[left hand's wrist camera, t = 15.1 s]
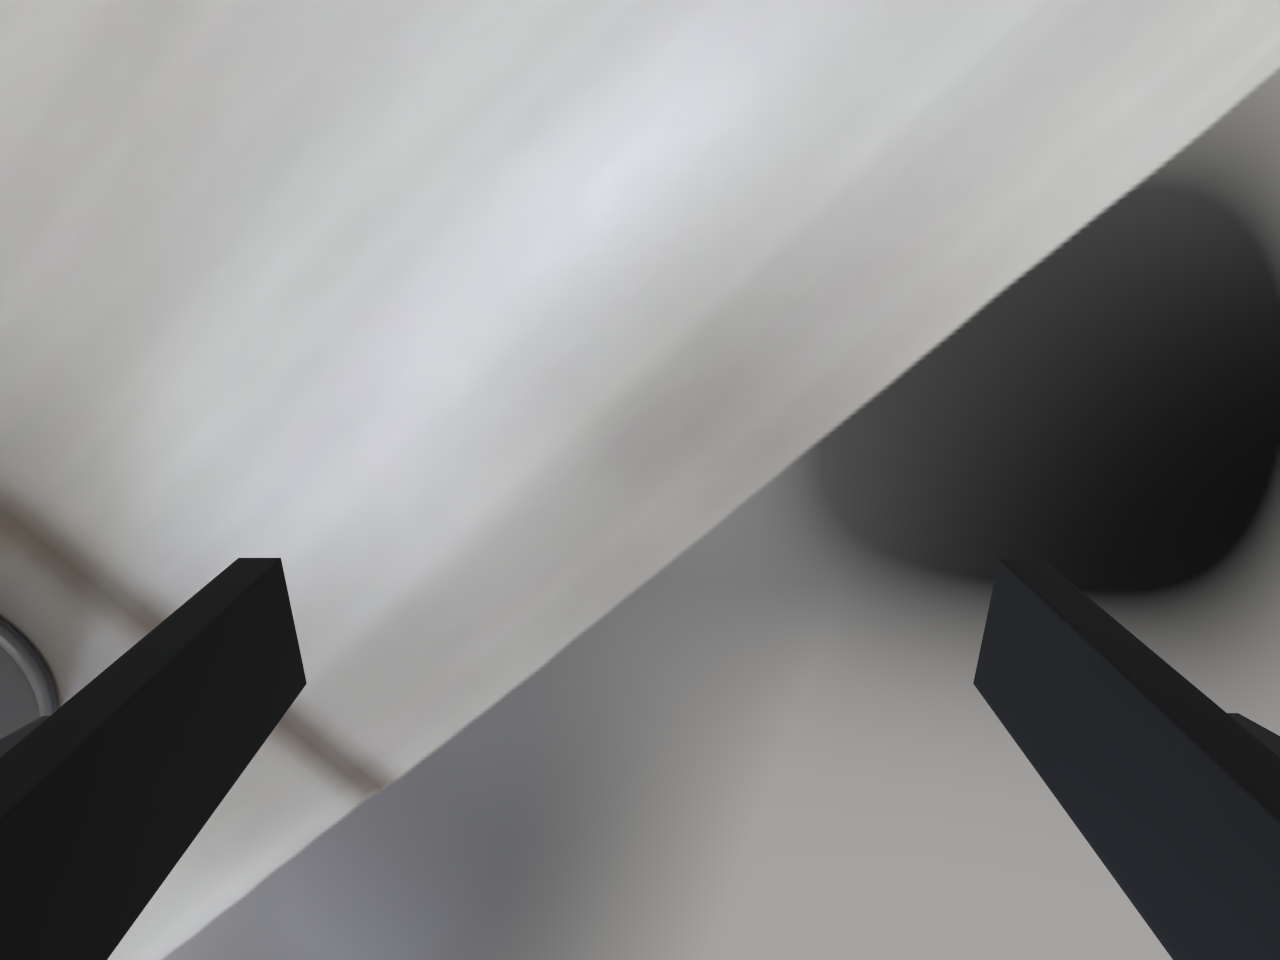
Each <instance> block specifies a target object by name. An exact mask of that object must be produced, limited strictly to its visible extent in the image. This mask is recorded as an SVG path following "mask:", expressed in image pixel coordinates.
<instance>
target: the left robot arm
mask: <svg viewBox="0 0 1280 960" xmlns="http://www.w3.org/2000/svg"><path fill="white" fill-rule="evenodd" d="M306 684H307V683H306V678H305V674H304V669H303V664H302V659H301V654H300V649H299V644H298V640H297V635H296V630H295V625H294V620H293V615H292V610H291V606H290V601H289V596H288V591H287V586H286V581H285V577H284V572H283V567H282V562H281V558H238V559H237V560H236V561H235V562H233V563H232V564H231V565H230V566H229V567H227V568H226V569H225V570H224V571H223V572H221V573H220V574H219V575H218V576H217V577H215V578H214V579H213V580H212V581H211V582H210V583H208V584H207V585H206V586H205V587H204V588H202V589H201V590H200V591H199V592H198V593H196V594H195V595H194V596H193V597H192V598H190V599H189V600H188V601H187V602H186V603H184V604H183V605H182V606H181V607H180V608H178V609H177V610H176V611H175V612H174V613H172V614H171V615H170V616H169V617H168V618H166V619H165V620H164V621H163V622H162V623H161V624H159V625H158V626H157V627H156V628H155V629H153V630H152V631H151V632H150V633H149V634H147V635H146V636H145V637H144V638H143V639H141V640H140V641H139V642H138V643H137V644H135V645H134V646H133V647H132V648H131V649H129V650H128V651H127V652H126V653H125V654H123V655H122V656H121V657H120V658H119V659H117V660H116V661H115V662H114V663H113V664H112V665H110V666H109V667H108V668H107V669H106V670H104V671H103V672H102V673H101V674H100V675H98V676H97V677H96V678H95V679H94V680H92V681H91V682H90V683H89V684H88V685H86V686H85V687H84V688H83V689H82V690H80V691H79V692H78V693H77V694H76V695H74V696H73V697H72V698H71V699H70V700H68V701H67V702H66V703H65V704H64V705H63V706H61V707H60V708H59V709H58V710H57V696H56V691H55V687H54V684H53V681H52V678H51V676H50V674H49V672H48V670H47V668H46V666H45V664H44V663H43V661H42V660H41V658H40V657H39V655H38V654H37V652H36V651H35V650H34V649H33V647H32V646H31V645H30V644H29V643H28V642H27V641H26V640H25V639H24V637H22V636H21V635H20V634H19V633H18V632H17V631H16V630H15V629H14V628H12V627H11V626H10V625H9V624H7V623H6V622H5V621H3V620H2V619H1V618H0V960H107V959H108V957H109V956H110V955H111V953H112V952H113V951H114V949H115V948H116V946H117V945H118V944H119V942H120V941H121V940H122V938H123V937H124V935H125V934H126V933H127V931H128V930H129V928H130V927H131V926H132V924H133V923H134V922H135V920H136V919H137V917H138V916H139V915H140V913H141V912H142V910H143V909H144V908H145V906H146V905H147V904H148V902H149V901H150V899H151V898H152V897H153V895H154V894H155V892H156V891H157V890H158V888H159V887H160V886H161V884H162V883H163V881H164V880H165V879H166V877H167V876H168V874H169V873H170V872H171V870H172V869H173V868H174V866H175V865H176V863H177V862H178V861H179V859H180V858H181V857H182V855H183V854H184V852H185V851H186V850H187V848H188V847H189V845H190V844H191V843H192V841H193V840H194V839H195V837H196V836H197V834H198V833H199V832H200V830H201V829H202V827H203V826H204V825H205V823H206V822H207V821H208V819H209V818H210V816H211V815H212V814H213V812H214V811H215V809H216V808H217V807H218V805H219V804H220V803H221V801H222V800H223V798H224V797H225V796H226V794H227V793H228V792H229V790H230V789H231V787H232V786H233V785H234V783H235V782H236V780H237V779H238V778H239V776H240V775H241V774H242V772H243V771H244V769H245V768H246V767H247V765H248V764H249V762H250V761H251V760H252V758H253V757H254V756H255V754H256V753H257V751H258V750H259V749H260V747H261V746H262V744H263V743H264V742H265V740H266V739H267V738H268V736H269V735H270V733H271V732H272V731H273V729H274V728H275V726H276V725H277V724H278V722H279V721H280V720H281V718H282V717H283V715H284V714H285V713H286V711H287V710H288V709H289V707H290V706H291V704H292V703H293V702H294V700H295V699H296V697H297V696H298V695H299V693H300V692H301V691H302V689H303V688H304V686H305V685H306ZM974 685H975V686H976V688H977V689H978V691H979V692H980V693H981V695H982V696H983V697H984V699H985V700H986V702H987V703H988V704H989V706H990V707H991V709H992V710H993V711H994V713H995V714H996V715H997V717H998V718H999V720H1000V721H1001V722H1002V724H1003V725H1004V726H1005V728H1006V729H1007V731H1008V732H1009V733H1010V735H1011V736H1012V738H1013V739H1014V740H1015V742H1016V743H1017V744H1018V746H1019V747H1020V749H1021V750H1022V751H1023V753H1024V754H1025V756H1026V757H1027V758H1028V760H1029V761H1030V762H1031V764H1032V765H1033V766H1034V768H1035V769H1036V771H1037V772H1038V774H1039V775H1040V776H1041V778H1042V779H1043V780H1044V782H1045V783H1046V785H1047V786H1048V787H1049V789H1050V790H1051V791H1052V793H1053V794H1054V796H1055V797H1056V798H1057V800H1058V801H1059V803H1060V804H1061V805H1062V807H1063V808H1064V809H1065V811H1066V812H1067V813H1068V815H1069V816H1070V818H1071V819H1072V821H1073V822H1074V823H1075V825H1076V826H1077V827H1078V829H1079V830H1080V832H1081V833H1082V834H1083V836H1084V837H1085V839H1086V840H1087V841H1088V843H1089V844H1090V845H1091V847H1092V848H1093V850H1094V851H1095V852H1096V854H1097V855H1098V857H1099V858H1100V859H1101V861H1102V862H1103V863H1104V865H1105V866H1106V868H1107V869H1108V870H1109V872H1110V873H1111V874H1112V876H1113V877H1114V879H1115V880H1116V881H1117V883H1118V884H1119V885H1120V887H1121V888H1122V890H1123V891H1124V892H1125V894H1126V895H1127V897H1128V898H1129V899H1130V901H1131V902H1132V904H1133V905H1134V906H1135V908H1136V909H1137V910H1138V912H1139V913H1140V915H1141V916H1142V917H1143V919H1144V920H1145V921H1146V923H1147V924H1148V926H1149V927H1150V928H1151V930H1152V931H1153V933H1154V934H1155V935H1156V937H1157V938H1158V940H1159V941H1160V942H1161V944H1162V945H1163V946H1164V948H1165V949H1166V951H1167V952H1168V953H1169V955H1170V956H1171V957H1172V959H1173V960H1280V736H1278V735H1276V734H1275V733H1273V732H1271V731H1269V730H1267V729H1266V728H1264V727H1262V726H1260V725H1258V724H1256V723H1255V722H1253V721H1251V720H1249V719H1247V718H1246V717H1244V716H1242V715H1240V714H1238V713H1226V712H1225V711H1223V710H1222V709H1221V708H1220V707H1219V706H1217V705H1216V704H1215V703H1214V702H1213V701H1212V700H1210V699H1209V698H1208V697H1207V696H1206V695H1204V694H1203V693H1202V692H1201V691H1200V690H1198V689H1197V688H1196V687H1195V686H1194V685H1192V684H1191V683H1190V682H1189V681H1188V680H1186V679H1185V678H1184V677H1183V676H1182V675H1180V674H1179V673H1178V672H1177V671H1176V670H1174V669H1173V668H1172V667H1171V666H1170V665H1168V664H1167V663H1166V662H1165V661H1164V660H1163V659H1161V658H1160V657H1159V656H1158V655H1157V654H1155V653H1154V652H1153V651H1152V650H1151V649H1149V648H1148V647H1147V646H1146V645H1145V644H1143V643H1142V642H1141V641H1140V640H1139V639H1137V638H1136V637H1135V636H1134V635H1133V634H1131V633H1130V632H1129V631H1128V630H1127V629H1125V628H1124V627H1123V626H1122V625H1121V624H1119V623H1118V622H1117V621H1116V620H1115V619H1113V618H1112V617H1111V616H1110V615H1109V614H1108V613H1106V612H1105V611H1104V610H1103V609H1102V608H1100V607H1099V606H1098V605H1097V604H1096V603H1094V602H1093V601H1092V600H1091V599H1090V598H1088V597H1087V596H1086V595H1085V594H1084V593H1082V592H1081V591H1080V590H1079V589H1078V588H1076V587H1075V586H1074V585H1073V584H1072V583H1070V582H1069V581H1068V580H1067V579H1066V578H1064V577H1063V576H1062V575H1061V574H1060V573H1059V572H1057V571H1056V570H1055V569H1054V568H1053V567H1051V566H1050V565H1049V564H1048V563H1047V562H1045V561H1044V560H1043V559H1042V558H999V562H998V567H997V572H996V577H995V581H994V586H993V591H992V596H991V601H990V606H989V610H988V616H987V620H986V625H985V630H984V635H983V640H982V644H981V649H980V654H979V659H978V664H977V669H976V674H975V678H974Z"/></svg>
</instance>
